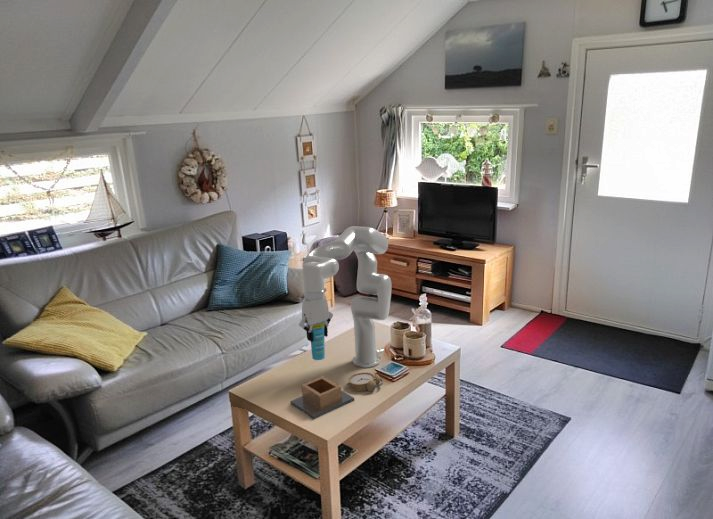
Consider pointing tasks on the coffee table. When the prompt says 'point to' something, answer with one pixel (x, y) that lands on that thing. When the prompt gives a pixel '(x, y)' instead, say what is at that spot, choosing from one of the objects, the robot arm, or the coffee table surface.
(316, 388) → the wooden box on base
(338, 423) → the coffee table surface
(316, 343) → the tube
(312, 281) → the robot arm
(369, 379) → the alarm clock
